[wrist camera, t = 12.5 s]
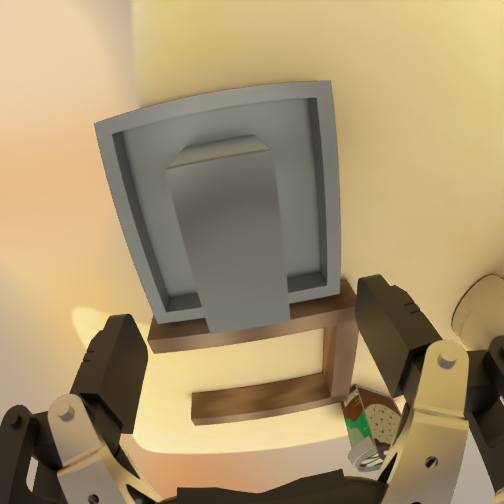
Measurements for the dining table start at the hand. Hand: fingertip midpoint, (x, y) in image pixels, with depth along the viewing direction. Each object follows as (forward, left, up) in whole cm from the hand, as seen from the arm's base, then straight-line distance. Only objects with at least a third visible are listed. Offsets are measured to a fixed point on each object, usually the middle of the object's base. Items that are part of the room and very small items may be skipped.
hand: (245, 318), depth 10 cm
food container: (-12, +30, -12) cm, 34 cm away
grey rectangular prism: (0, 0, -11) cm, 11 cm away
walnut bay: (0, +15, -12) cm, 19 cm away
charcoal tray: (0, 0, -12) cm, 12 cm away
